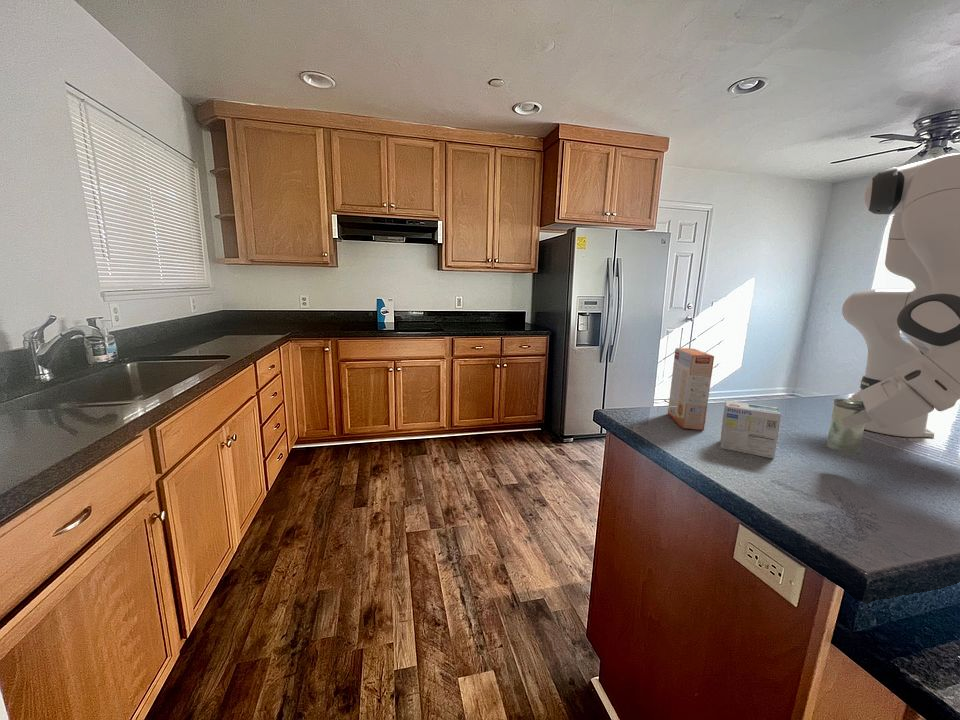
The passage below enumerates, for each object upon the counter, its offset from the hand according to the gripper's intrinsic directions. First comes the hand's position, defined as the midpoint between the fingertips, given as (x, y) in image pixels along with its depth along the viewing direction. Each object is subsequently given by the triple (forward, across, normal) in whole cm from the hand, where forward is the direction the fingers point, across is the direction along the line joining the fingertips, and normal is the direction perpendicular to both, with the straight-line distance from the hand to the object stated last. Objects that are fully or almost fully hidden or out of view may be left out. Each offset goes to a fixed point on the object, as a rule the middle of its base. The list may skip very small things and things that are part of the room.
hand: (843, 420), depth 77 cm
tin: (+4, 0, +5) cm, 6 cm away
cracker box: (+30, -10, -14) cm, 35 cm away
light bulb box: (+19, 0, -3) cm, 19 cm away
